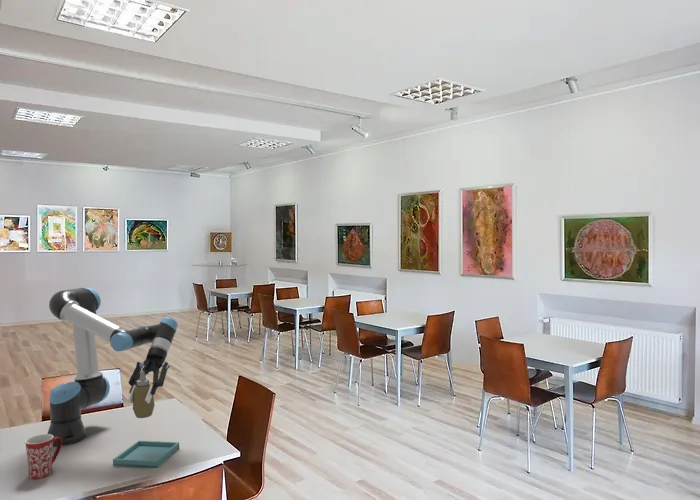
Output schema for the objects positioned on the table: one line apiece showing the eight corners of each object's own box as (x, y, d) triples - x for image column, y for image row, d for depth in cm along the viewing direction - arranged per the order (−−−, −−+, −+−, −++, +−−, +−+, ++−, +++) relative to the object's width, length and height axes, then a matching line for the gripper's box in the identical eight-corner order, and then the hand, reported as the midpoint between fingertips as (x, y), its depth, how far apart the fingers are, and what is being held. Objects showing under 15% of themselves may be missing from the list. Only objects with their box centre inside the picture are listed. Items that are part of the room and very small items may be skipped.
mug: (34, 482, 179) (33, 445, 179) (20, 477, 184) (19, 440, 183) (69, 468, 190) (68, 433, 190) (55, 463, 195) (54, 429, 195)
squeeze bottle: (129, 416, 199) (127, 371, 199) (149, 411, 205) (147, 367, 205) (138, 421, 194) (136, 375, 193) (158, 415, 200) (157, 370, 199)
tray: (112, 465, 192) (112, 459, 192) (138, 446, 210) (138, 440, 210) (157, 468, 190) (156, 461, 190) (179, 448, 208) (179, 442, 208)
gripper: (183, 355, 213) (165, 406, 197) (140, 355, 216) (119, 405, 200) (176, 346, 208) (158, 397, 192) (133, 346, 210) (111, 396, 194)
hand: (138, 401), depth 196 cm, fingers closed on squeeze bottle, 6 cm apart
